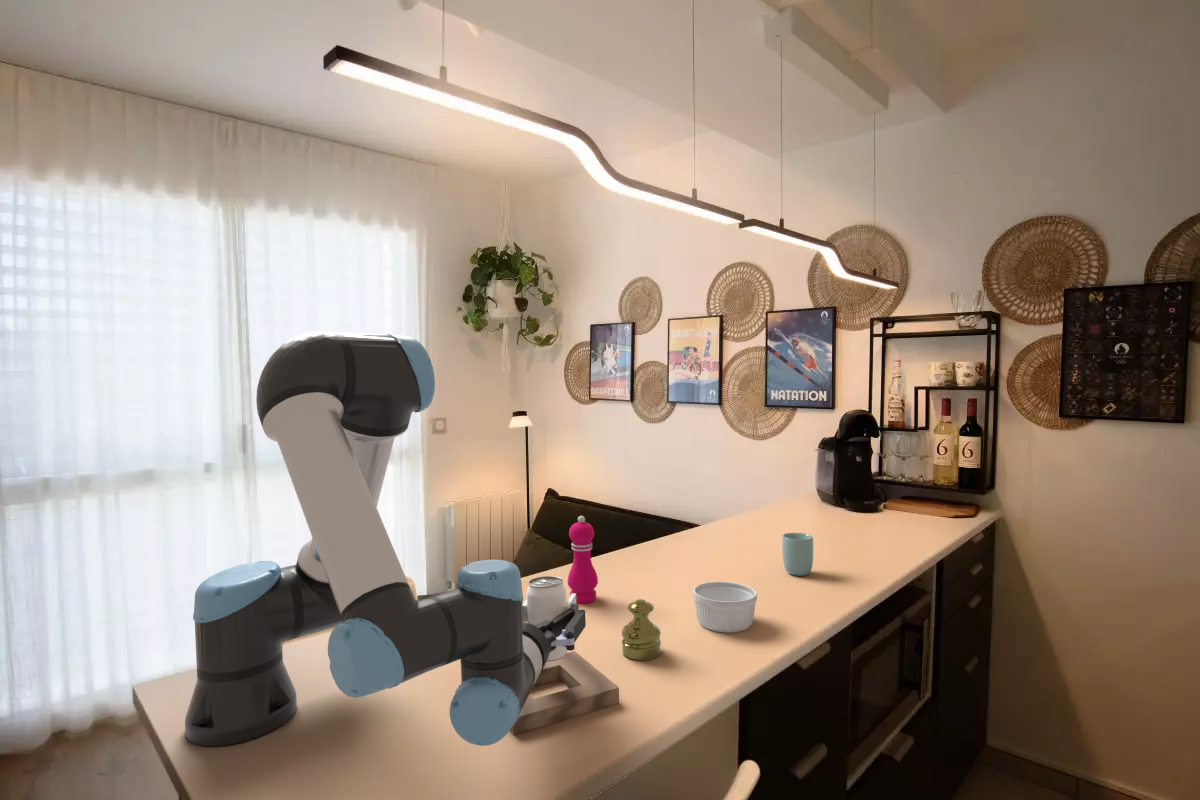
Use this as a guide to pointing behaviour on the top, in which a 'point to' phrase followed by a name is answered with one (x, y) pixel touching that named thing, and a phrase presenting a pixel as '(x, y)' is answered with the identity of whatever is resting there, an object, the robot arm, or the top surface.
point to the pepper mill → (582, 563)
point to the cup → (797, 553)
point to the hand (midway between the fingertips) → (553, 600)
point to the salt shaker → (641, 633)
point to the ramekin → (725, 606)
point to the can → (546, 605)
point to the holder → (567, 693)
